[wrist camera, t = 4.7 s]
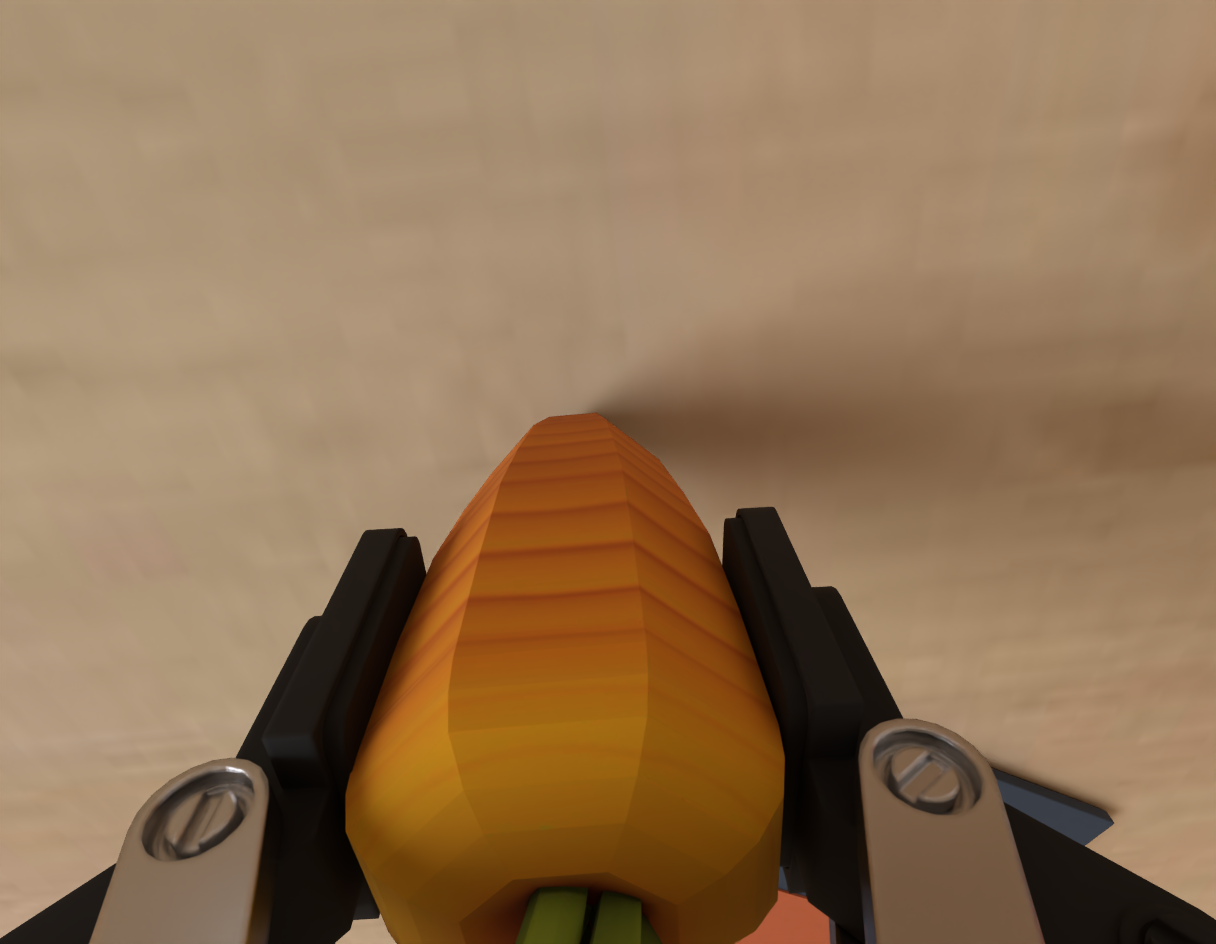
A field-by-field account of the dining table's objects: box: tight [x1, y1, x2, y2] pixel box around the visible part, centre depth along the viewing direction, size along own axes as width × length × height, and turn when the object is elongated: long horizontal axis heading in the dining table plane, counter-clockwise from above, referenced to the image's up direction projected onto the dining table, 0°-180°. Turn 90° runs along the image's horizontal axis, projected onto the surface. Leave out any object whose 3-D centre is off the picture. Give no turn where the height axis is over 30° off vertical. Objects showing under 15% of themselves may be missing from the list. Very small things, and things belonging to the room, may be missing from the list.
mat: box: [736, 768, 1114, 944], centre depth 25 cm, size 20×16×1 cm
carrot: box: [346, 413, 785, 944], centre depth 10 cm, size 5×5×15 cm
